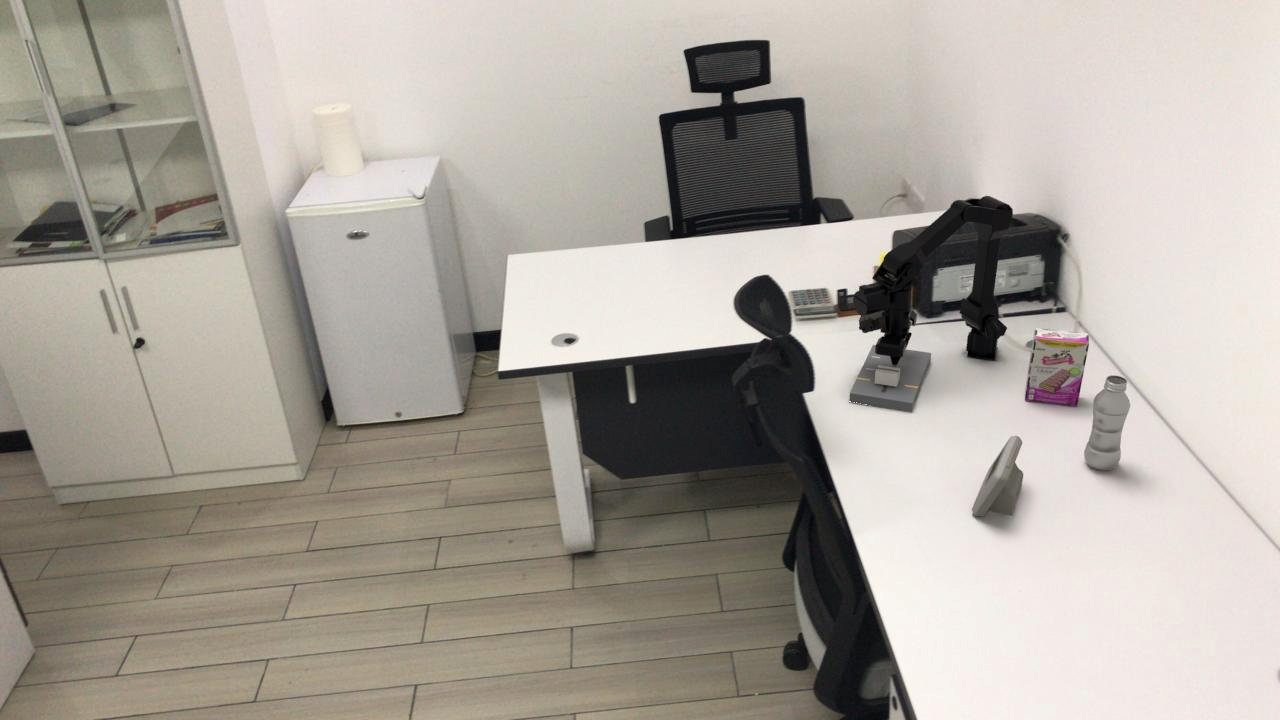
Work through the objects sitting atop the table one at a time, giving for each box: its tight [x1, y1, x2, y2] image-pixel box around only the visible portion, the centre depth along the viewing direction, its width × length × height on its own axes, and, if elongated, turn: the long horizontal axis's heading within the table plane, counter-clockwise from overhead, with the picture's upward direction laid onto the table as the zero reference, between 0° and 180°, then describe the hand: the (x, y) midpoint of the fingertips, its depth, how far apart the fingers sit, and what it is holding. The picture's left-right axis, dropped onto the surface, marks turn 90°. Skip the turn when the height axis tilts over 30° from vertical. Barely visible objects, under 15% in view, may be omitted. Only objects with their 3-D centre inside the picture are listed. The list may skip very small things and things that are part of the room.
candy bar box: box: [1024, 327, 1090, 407], centre depth 220 cm, size 11×5×16 cm, turn 71°
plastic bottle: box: [1083, 374, 1131, 471], centre depth 197 cm, size 6×7×20 cm
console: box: [848, 344, 932, 413], centre depth 234 cm, size 14×24×2 cm, turn 156°
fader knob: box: [875, 365, 900, 387], centre depth 229 cm, size 5×3×3 cm, turn 66°
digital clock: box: [971, 435, 1024, 517], centre depth 192 cm, size 16×9×11 cm, turn 139°
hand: (894, 364), depth 235 cm, fingers closed
